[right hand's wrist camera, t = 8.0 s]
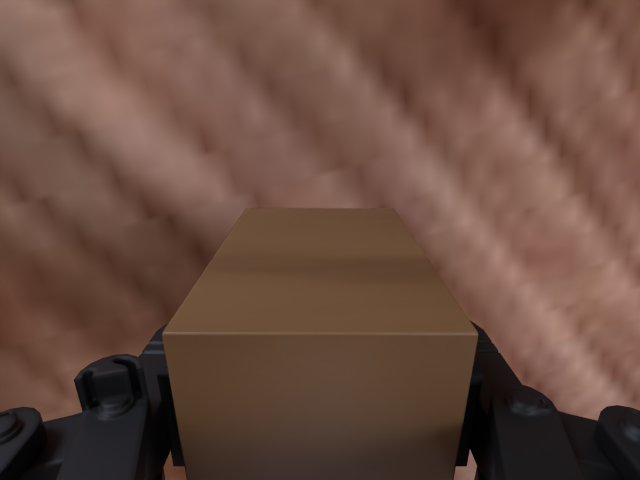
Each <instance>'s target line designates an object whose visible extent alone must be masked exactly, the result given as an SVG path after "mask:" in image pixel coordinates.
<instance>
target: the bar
mask: <svg viewBox="0 0 640 480" xmlns="http://www.w3.org/2000/svg"><path fill="white" fill-rule="evenodd" d="M162 337H163V343H164V349H165V355H166V361H167V366H168V372H169V378H170V384H171V390H172V396H173V401H174V407H175V413H176V419H177V425H178V430H179V436H180V442H181V448H182V454H183V459H184V465H185V471H186V477H187V480H453V479H454V473H455V467H456V461H457V456H458V450H459V444H460V438H461V432H462V427H463V421H464V415H465V409H466V404H467V398H468V392H469V386H470V380H471V375H472V369H473V363H474V357H475V351H476V346H477V340H478V332H477V330H476V329H475V327H474V326H473V324H472V323H471V321H470V320H469V318H468V317H467V315H466V314H465V312H464V311H463V310H462V308H461V307H460V305H459V304H458V302H457V301H456V299H455V298H454V296H453V295H452V293H451V292H450V290H449V289H448V287H447V286H446V284H445V283H444V281H443V280H442V278H441V277H440V275H439V274H438V272H437V271H436V269H435V268H434V267H433V265H432V264H431V262H430V261H429V259H428V258H427V256H426V255H425V253H424V252H423V250H422V249H421V247H420V246H419V244H418V243H417V241H416V240H415V238H414V237H413V235H412V234H411V232H410V231H409V229H408V228H407V226H406V225H405V224H404V222H403V221H402V219H401V218H400V216H399V215H398V213H397V212H396V210H395V209H245V210H244V212H243V213H242V215H241V216H240V218H239V219H238V221H237V222H236V224H235V225H234V227H233V228H232V230H231V231H230V233H229V234H228V236H227V237H226V239H225V240H224V242H223V243H222V245H221V246H220V248H219V249H218V251H217V252H216V254H215V255H214V257H213V258H212V260H211V261H210V263H209V264H208V265H207V267H206V268H205V270H204V271H203V273H202V274H201V276H200V277H199V279H198V280H197V282H196V283H195V285H194V286H193V288H192V289H191V291H190V292H189V294H188V295H187V297H186V298H185V300H184V301H183V303H182V304H181V306H180V307H179V309H178V310H177V312H176V313H175V315H174V316H173V317H172V319H171V320H170V322H169V323H168V325H167V326H166V328H165V329H164V331H163V333H162Z"/></svg>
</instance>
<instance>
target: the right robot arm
mask: <svg viewBox="0 0 640 480" xmlns="http://www.w3.org/2000/svg"><path fill="white" fill-rule="evenodd" d="M471 323H472V324H473V326H474V327H475V329H476V330H477V332H478V340H477V346H476V351H475V357H474V363H473V369H472V375H471V380H470V386H469V392H468V398H467V404H466V409H465V415H464V421H463V427H462V432H461V438H460V444H459V450H458V456H457V461H456V466H467V461H468V456H469V450H471V452H472V455H473V457H474V459H475V462H476V464H477V469H476V474H475V479H474V480H640V411H639V410H636V409H634V408H631V407H624V406H618V405H616V406H609V407H606V408H605V409H603V410H602V411H601V413H600V416H599V419H598V421H596V420H592V419H588V418H583V417H579V416H575V415H571V414H567V413H563V412H560V411H558V410H557V409H556V407H555V406H554V404H553V403H552V401H551V400H549V399H548V398H547V397H546V396H545V395H543V394H542V393H540V392H539V391H537V390H535V389H533V388H531V387H528V386H525V385H522V384H521V382H520V381H519V379H518V378H517V377H516V375H515V374H514V372H513V371H512V369H511V368H510V367H509V365H508V364H507V362H506V361H505V360H504V358H503V357H502V355H501V354H500V353H498V350H497V348H496V347H495V345H494V344H493V343H492V342H491V340H490V338H489V337H488V335H487V334H486V333H485V331H484V330H483V329H482V328H480V327H479V326H477V325H476V324H475V323H473V322H472V321H471ZM167 325H168V323H167V324H166V325H165V326H163V327H162V328H161V329H159V330H158V331H157V332H156V333H155V334H154V336H153V337H152V339H151V340H150V342H149V345H147V346H146V347H145V349H144V350H143V352H142V354H140V356H139V357H137V356H133V355H128V354H122V355H113V356H109V357H105V358H102V359H100V360H98V361H96V362H93V363H91V364H90V365H88V366H87V367H85V368H84V369H83V370H81V371H80V372H79V374H78V375H77V376H76V378H75V379H74V382H75V386H76V389H77V393H78V396H79V400H80V403H81V407H82V413H79V414H75V415H72V416H68V417H63V418H59V419H55V420H51V421H46V422H43V421H42V418H41V415H40V413H39V412H38V411H37V410H36V409H34V408H28V407H20V408H14V409H9V410H6V411H3V412H0V480H165V475H164V469H163V466H164V464H165V462H166V459H167V457H168V455H169V452H170V450H171V454H172V460H173V465H174V466H185V465H184V459H183V454H182V448H181V442H180V436H179V430H178V425H177V419H176V413H175V407H174V401H173V396H172V390H171V384H170V378H169V372H168V366H167V361H166V355H165V349H164V343H163V337H162V333H163V331H164V329H165V328H166V326H167Z"/></svg>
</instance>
